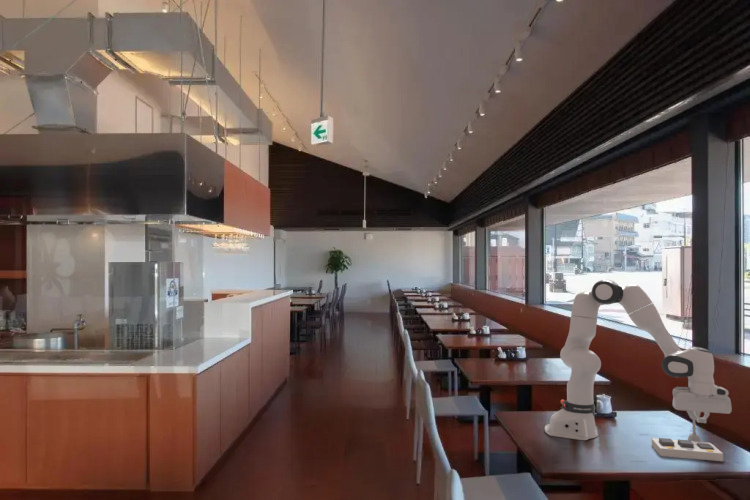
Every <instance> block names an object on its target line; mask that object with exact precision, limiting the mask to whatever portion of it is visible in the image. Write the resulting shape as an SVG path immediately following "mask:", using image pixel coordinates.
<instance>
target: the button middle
mask: <svg viewBox="0 0 750 500" xmlns="http://www.w3.org/2000/svg"><path fill="white" fill-rule="evenodd" d="M677 440H678V445H679V446H680V447H686V448H694V444H693V443H692V442H691V440H688V439H680V438H679V439H677Z"/></svg>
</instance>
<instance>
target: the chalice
mask: <svg viewBox="0 0 750 500" xmlns="http://www.w3.org/2000/svg"><path fill="white" fill-rule="evenodd" d="M686 413H687V415H688V416H689V418H690V419H691V420H692V423H691V425H692V427H691V429H692V433H689V435H688V437H687V440H690V441H695V442H702V440H701V437H700V435H699V434H698V433H697V432H696V430H697V428H696V426H697V423H696V421H697V417H696V416H695V414H694V413H693V411H686ZM701 413H702V412H699V414H698V416H699V417H701Z"/></svg>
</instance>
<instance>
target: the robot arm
mask: <svg viewBox="0 0 750 500" xmlns="http://www.w3.org/2000/svg"><path fill="white" fill-rule="evenodd" d="M612 304H619V305H620V306H622V307H623V309H624V311H625V312H626V314H627V315H628V317H629V319H630V320H631V321H632V323H634V325H635V326H636V327H637V328H638V329H639V330H642V331H645V332H647V333H648V334H649V335H650V336H651V337H652V338H653V339H654V341H655V342H656V344H657V345H658V346H659V348H660V350H661V351H662V353H663V355H664V358H663V359H662V361H661V368H662V370H663V372H664V373H665V374H666V375H667V376H669V377H671V378H687V379H688V384H687V385H688V386H676V387H673V388H672V397H673V398H672V407H673V408H674V410H676V411H686V412H687V411H693V413H694V414H695V416H696V417H697V420H696V422H697V423H700V424H707V420H708V418H709V416H710V415H711V414H710V413H714V414H727V415H728V414H729V415H730V414H731V413H732V411H733V409H732V402H731V401H732V400H731V398H730V397H729V394H730V393H729V390H728V389H726V388H724V387H722V386H721V385H720V386H719V385H718V384H715V379H714V373H715V362H714V356H713V354H712V353H713V352H711V351H710V350H708V349H706V348H704V347H699V346H690V347H689V348H687V349H685V350H683V349H682V348H681V347H680V346H678V344H677V343H676V341H675V340H674V338H673V337H672V336H671V334H670V333H669V331H668V329H667V328H666V326H665V324H664V322H663V320H662V317H661V315H660V313H659V311H658V309H657V307H656V306H655V304H654V302H653V301H652V299H651V298H650V297H649V296H648V294H647V293H646V292H645V290H644V289H642V287H640V286H639V284H638V285H637V284H628V285H626V286H620V285H619V284H618V283H617V282H615V281H614V280H611V279H601V280H598V281H597V282H595V283H594V285H593V286H592V288H591V291H590V292H587V291H584V292H579V293H577V294H576V295H575V297H574V300H573V302H572V308H571V312H570V313H571V314H570V321H569V331H568V335H567V337H566V340H565V343H564V346H563V347H562V348H561V350H560V354H559V357H560V359H561V361H562V363H563V364H564V365H565V366H567V367H568V368H570V369H571V370H570V371H571V372H570V377H569V380H568V381H567V382H566V383H567V384H566V400H565V399H561V400H560V404H561V406H562V408H561V409H560V410H558V411H556V412H555V413H553V414H552V415H551V416H550V418H549V423H548V424H546V425H545V426H544V432H545V433H546V434H547V435H548V436H550V437H559V438H563V439H564V438H565V439H571V440H572V439H573V440H579V441H587V440H590V439H594V438H595V439H596V438H597V437H598V436H599V434H598V431H597V427H596V420H595V415H596V413H595V412H596V406H595V403H594V387H595V386H594V385H595V381H596V375H597V373H598V372H599V371H600V370H601V367H602V361H601V359H600V357H599V356H598V355H597V353H595V352H594V351H592V350H590V349H589V348H590V347H591V346H590V345H591V343H592V341H593V339H594V338H595V337H596V334H597V323H598V314H599V308H600V307H601V306H604V305H606V306H607V305H612ZM699 412H701V413H703V414H704V415H703V416H702V417H701V416H698V414H699Z"/></svg>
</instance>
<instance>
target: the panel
mask: <svg viewBox="0 0 750 500" xmlns="http://www.w3.org/2000/svg"><path fill="white" fill-rule="evenodd" d="M671 440H672V441H673V442H674V446H662V445H661V444H660V443H659V438H657V437H655V438H654V437H652V438H651V446H652V448H653V449H654V450H655V452H657V454H658V455H659V456H660V457H668V458H669V457H670V458H681V459H682V458H683V459H693V460H703V461H705V460H707V461H714V462H724V453H723V452H722V451H721V450H719V448H717V447H716V445H714V444H712V442H707V441H706V442H705V441H700V442H695V441H691V440H690V441H691V442H692V443H693V444H694V448H686V447H680V446H679V445H678V439H671ZM697 443H703V444H710V445H711V446H712V447H713V448H714V450H710V449H700V448H699V447H698V446H697Z"/></svg>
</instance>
